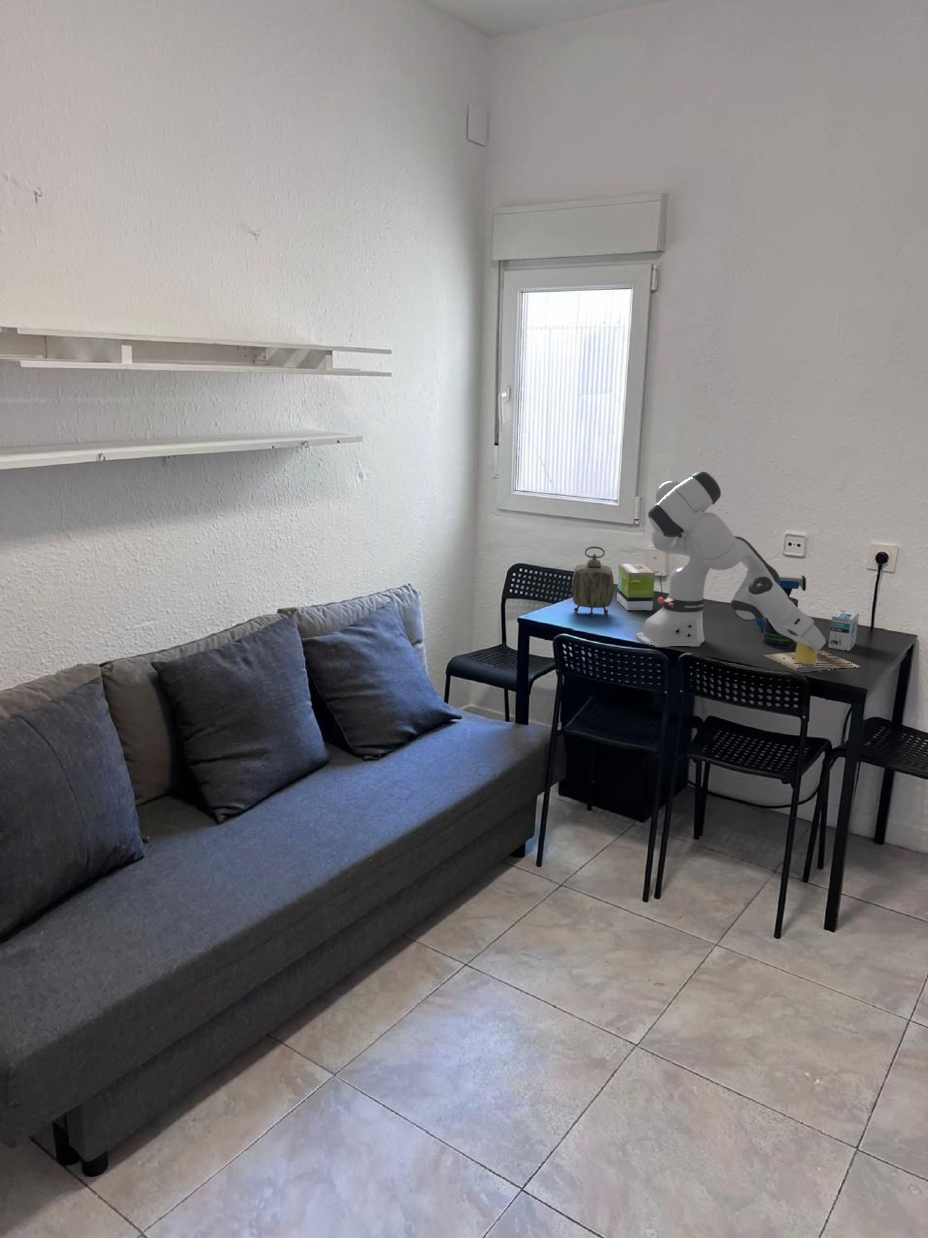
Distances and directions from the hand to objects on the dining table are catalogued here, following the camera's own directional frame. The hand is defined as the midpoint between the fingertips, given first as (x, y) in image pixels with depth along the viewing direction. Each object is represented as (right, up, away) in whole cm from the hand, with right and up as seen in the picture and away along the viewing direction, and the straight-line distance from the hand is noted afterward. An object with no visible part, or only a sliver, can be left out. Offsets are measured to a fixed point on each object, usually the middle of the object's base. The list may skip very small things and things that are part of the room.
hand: (809, 647), depth 289 cm
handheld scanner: (+1, +4, +35) cm, 35 cm away
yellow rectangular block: (-1, -5, +1) cm, 5 cm away
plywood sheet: (+1, -4, +2) cm, 5 cm away
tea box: (-42, +13, +64) cm, 78 cm away
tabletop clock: (-60, +10, +49) cm, 79 cm away
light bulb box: (+18, 0, +19) cm, 26 cm away
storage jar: (-3, 0, +20) cm, 20 cm away
